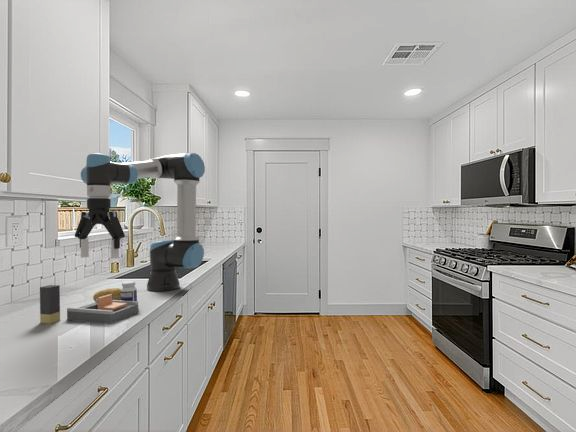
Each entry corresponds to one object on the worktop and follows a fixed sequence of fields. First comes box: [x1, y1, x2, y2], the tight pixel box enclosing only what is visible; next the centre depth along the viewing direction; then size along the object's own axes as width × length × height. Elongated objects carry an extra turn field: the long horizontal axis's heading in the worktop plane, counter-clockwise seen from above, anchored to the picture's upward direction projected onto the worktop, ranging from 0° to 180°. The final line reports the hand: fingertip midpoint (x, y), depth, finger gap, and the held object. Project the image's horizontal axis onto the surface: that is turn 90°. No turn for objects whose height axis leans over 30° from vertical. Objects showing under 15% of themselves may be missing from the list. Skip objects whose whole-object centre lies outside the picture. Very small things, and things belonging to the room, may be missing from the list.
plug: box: [39, 284, 61, 325], centre depth 127 cm, size 4×4×12 cm
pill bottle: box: [120, 280, 138, 302], centre depth 145 cm, size 6×6×10 cm
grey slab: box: [66, 299, 139, 324], centre depth 133 cm, size 14×18×4 cm
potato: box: [92, 287, 122, 303], centre depth 151 cm, size 7×11×6 cm, turn 118°
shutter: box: [97, 294, 127, 310], centre depth 132 cm, size 7×7×4 cm
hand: (99, 257), depth 133 cm, fingers open, 13 cm apart
